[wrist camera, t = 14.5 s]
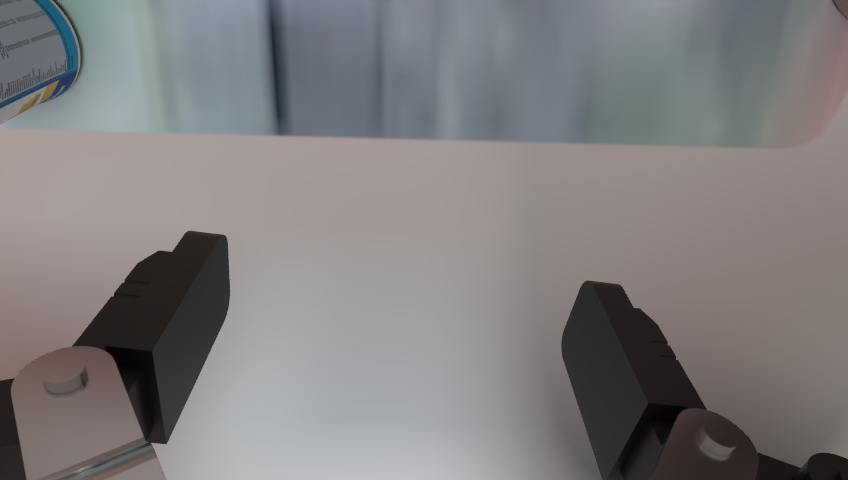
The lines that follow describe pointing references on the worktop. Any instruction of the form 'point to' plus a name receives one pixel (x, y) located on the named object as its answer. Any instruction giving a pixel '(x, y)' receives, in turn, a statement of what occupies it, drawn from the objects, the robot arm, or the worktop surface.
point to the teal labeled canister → (34, 54)
